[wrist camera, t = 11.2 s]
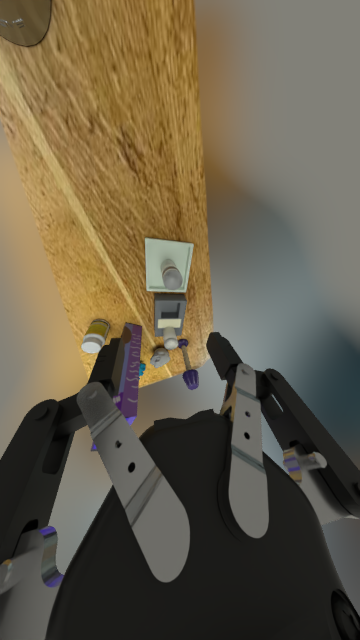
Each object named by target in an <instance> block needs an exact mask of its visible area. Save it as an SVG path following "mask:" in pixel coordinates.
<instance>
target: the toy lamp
mask: <svg viewBox="0 0 360 640" xmlns="http://www.w3.org/2000/svg"><path fill="white" fill-rule="evenodd" d="M187 345H188V341H187V340H186V339H181V340H179V341H178V347H179V348H181V349H182V353H183V357H184V361H185V365H186V366H185V367H186V370H187V371H185V372H184V373H183V379H184V381H185V383H186V385H187V387H188V389H191V390H193V389H196V388H197V387H198V385H199V384H198V383H199V382H198V372H197V371H196V370H193V369H191V365H190V361H189V357H188V353H187V350H186V347H187Z"/></svg>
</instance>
